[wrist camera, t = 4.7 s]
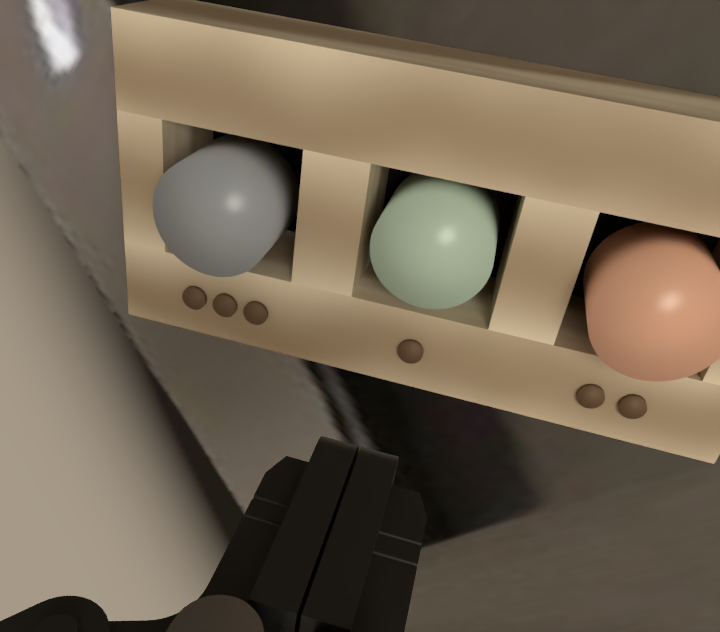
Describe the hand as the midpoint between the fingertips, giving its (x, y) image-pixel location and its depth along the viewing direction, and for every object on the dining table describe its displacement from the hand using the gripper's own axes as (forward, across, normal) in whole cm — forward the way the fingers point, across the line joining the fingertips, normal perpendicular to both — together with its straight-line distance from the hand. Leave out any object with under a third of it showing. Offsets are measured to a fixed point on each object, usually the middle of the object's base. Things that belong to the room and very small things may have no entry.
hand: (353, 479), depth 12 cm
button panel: (+15, 0, 0) cm, 15 cm away
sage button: (+13, 0, 0) cm, 13 cm away
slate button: (+12, +7, 0) cm, 14 cm away
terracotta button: (+12, -7, 0) cm, 14 cm away
